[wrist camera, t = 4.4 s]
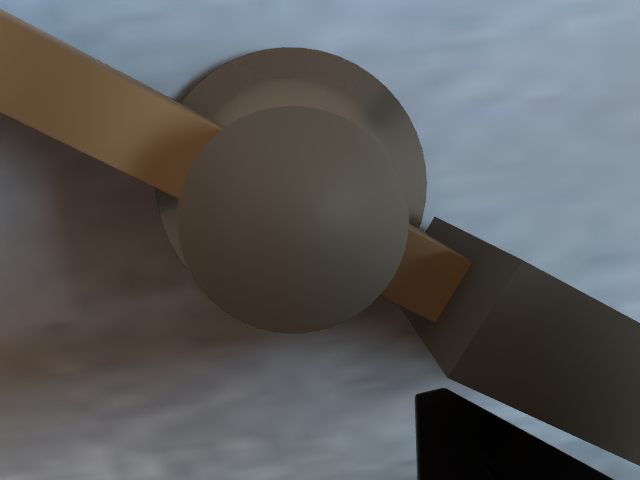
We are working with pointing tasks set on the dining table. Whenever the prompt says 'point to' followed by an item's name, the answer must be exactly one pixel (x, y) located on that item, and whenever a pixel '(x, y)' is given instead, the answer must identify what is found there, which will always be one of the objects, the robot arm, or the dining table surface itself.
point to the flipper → (336, 238)
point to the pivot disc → (310, 91)
